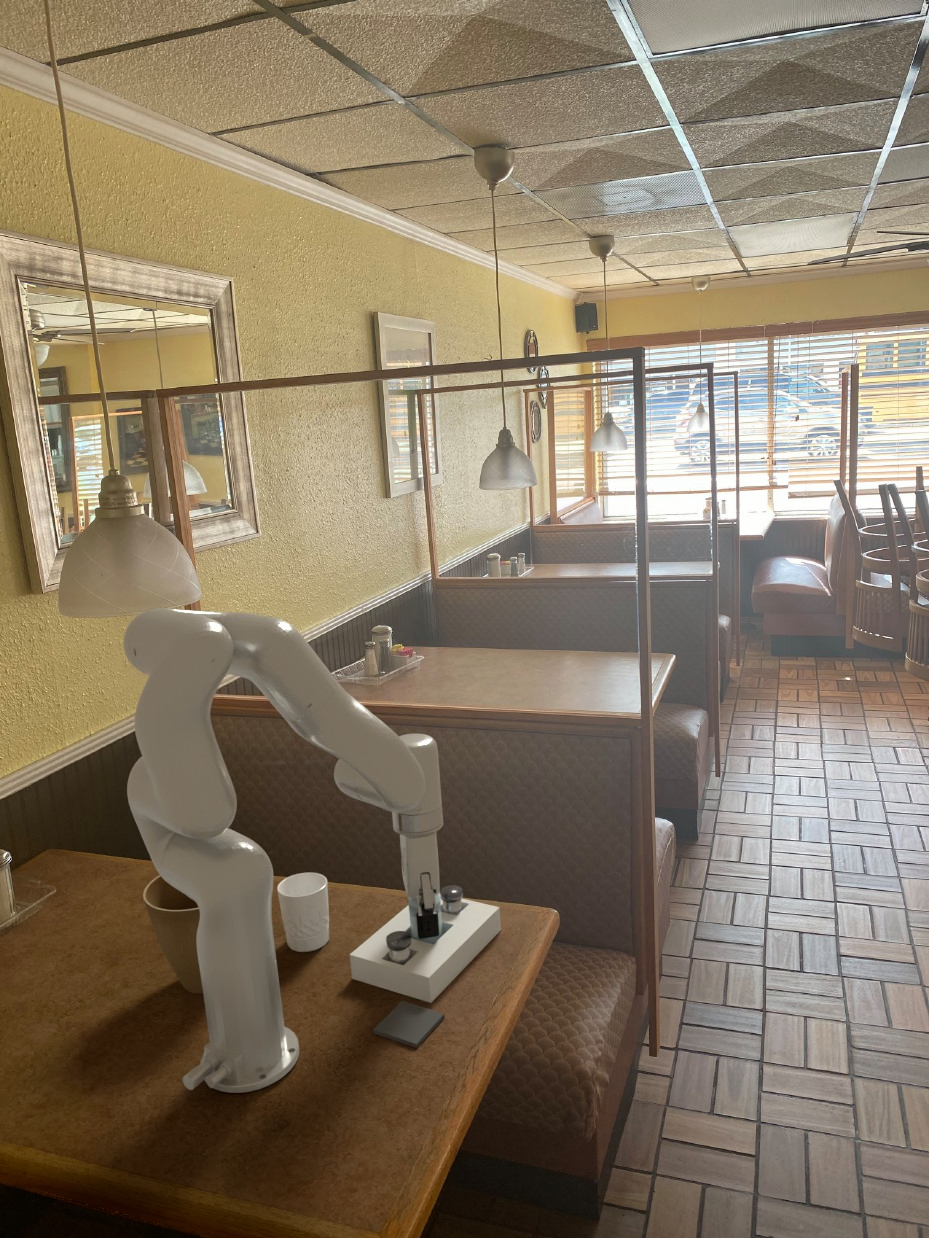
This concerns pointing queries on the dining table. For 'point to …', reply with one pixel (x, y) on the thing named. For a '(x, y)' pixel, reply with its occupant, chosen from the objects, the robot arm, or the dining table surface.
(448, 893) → the dark capped shaker
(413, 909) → the cylinder
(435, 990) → the housing
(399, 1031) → the mat
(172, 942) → the plant pot
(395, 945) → the grey dome-capped cylinder
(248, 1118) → the dining table surface
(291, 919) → the white cup
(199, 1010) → the dining table surface
